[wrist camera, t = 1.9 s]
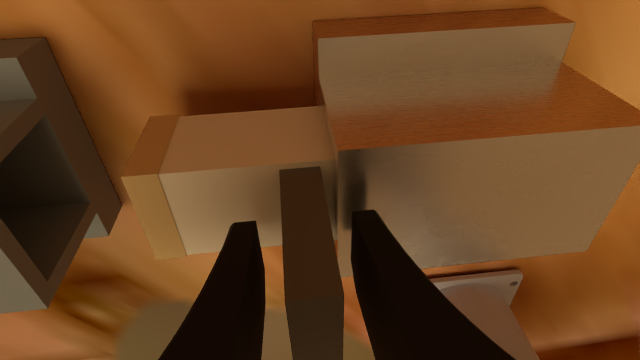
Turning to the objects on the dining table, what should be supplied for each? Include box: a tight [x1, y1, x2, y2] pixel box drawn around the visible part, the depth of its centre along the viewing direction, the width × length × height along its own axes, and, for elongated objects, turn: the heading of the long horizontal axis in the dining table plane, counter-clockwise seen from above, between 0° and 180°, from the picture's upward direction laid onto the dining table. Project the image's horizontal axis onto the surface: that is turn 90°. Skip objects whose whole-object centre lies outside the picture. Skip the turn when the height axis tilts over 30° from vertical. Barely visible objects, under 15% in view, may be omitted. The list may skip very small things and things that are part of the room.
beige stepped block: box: [312, 8, 640, 277], centre depth 15 cm, size 9×8×7 cm
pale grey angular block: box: [121, 106, 344, 360], centre depth 12 cm, size 14×4×8 cm, turn 91°
